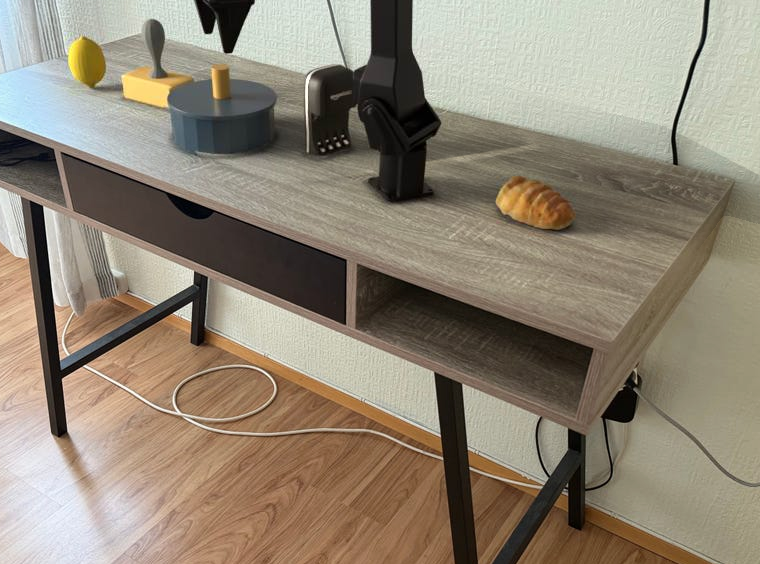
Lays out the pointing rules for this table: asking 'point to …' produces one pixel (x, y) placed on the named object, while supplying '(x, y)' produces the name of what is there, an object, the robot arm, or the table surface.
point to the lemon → (87, 61)
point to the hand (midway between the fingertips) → (217, 43)
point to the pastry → (534, 204)
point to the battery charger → (328, 109)
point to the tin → (222, 133)
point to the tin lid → (221, 97)
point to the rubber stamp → (152, 71)
